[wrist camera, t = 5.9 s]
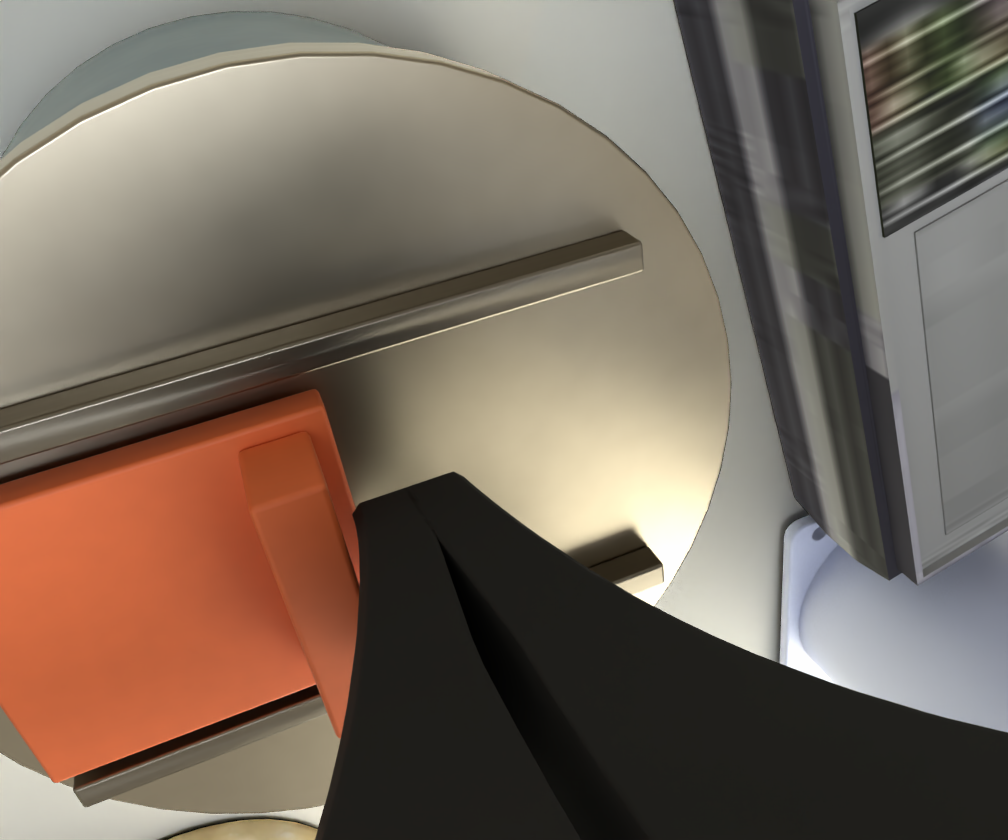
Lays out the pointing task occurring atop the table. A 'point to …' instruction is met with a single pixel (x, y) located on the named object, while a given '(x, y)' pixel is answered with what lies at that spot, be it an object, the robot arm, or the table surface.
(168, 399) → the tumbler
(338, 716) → the slider
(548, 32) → the table surface
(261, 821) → the hand bell
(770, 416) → the table surface
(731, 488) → the table surface
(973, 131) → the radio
